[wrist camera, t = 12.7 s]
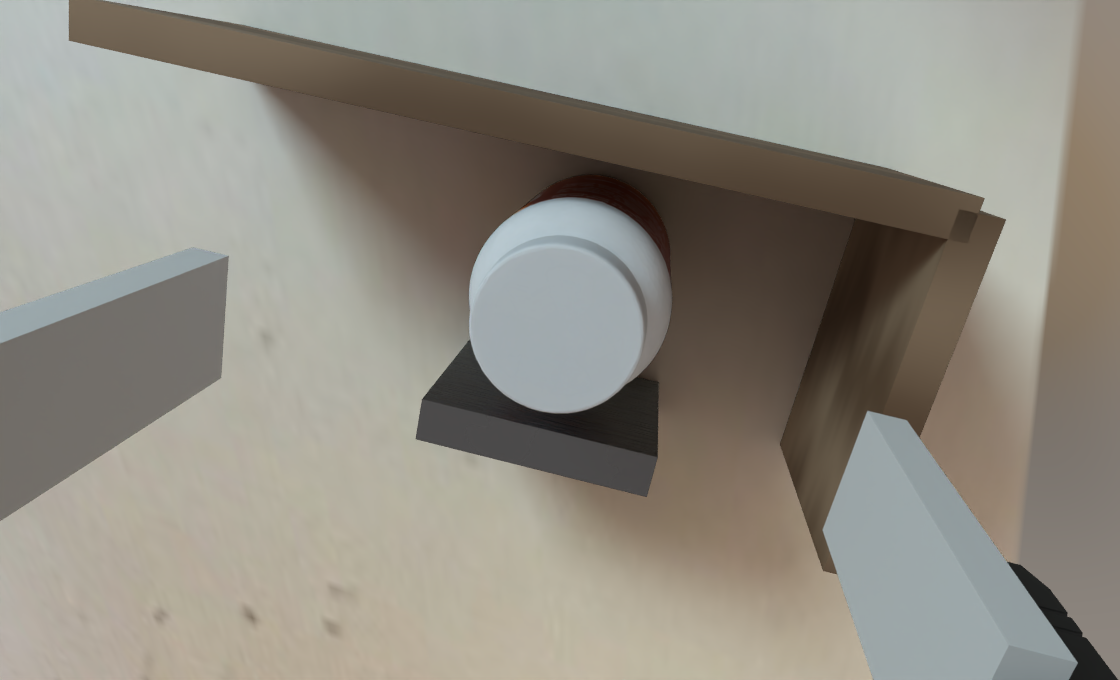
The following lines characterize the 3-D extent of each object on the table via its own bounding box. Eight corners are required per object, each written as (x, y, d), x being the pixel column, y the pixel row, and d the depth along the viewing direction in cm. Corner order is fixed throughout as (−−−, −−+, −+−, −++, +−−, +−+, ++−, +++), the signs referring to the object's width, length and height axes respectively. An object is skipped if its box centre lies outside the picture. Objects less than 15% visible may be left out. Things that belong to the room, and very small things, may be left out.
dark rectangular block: (471, 337, 32) (422, 399, 26) (658, 382, 32) (657, 457, 25) (465, 370, 33) (415, 438, 26) (649, 415, 32) (646, 496, 26)
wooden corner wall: (239, 24, 30) (69, -6, 21) (906, 172, 28) (1012, 204, 20) (220, 308, 33) (68, 380, 25) (808, 451, 32) (862, 580, 23)
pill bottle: (532, 155, 30) (461, 184, 19) (688, 193, 29) (704, 244, 19) (501, 307, 32) (421, 408, 21) (647, 343, 31) (640, 465, 21)
